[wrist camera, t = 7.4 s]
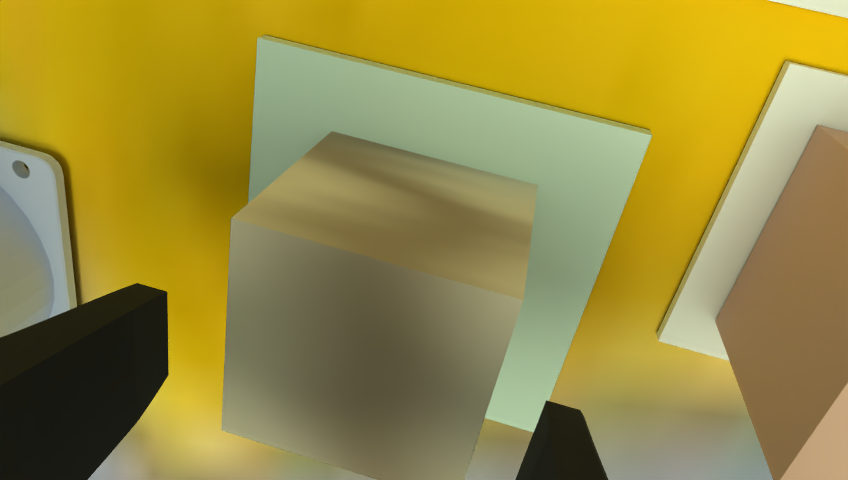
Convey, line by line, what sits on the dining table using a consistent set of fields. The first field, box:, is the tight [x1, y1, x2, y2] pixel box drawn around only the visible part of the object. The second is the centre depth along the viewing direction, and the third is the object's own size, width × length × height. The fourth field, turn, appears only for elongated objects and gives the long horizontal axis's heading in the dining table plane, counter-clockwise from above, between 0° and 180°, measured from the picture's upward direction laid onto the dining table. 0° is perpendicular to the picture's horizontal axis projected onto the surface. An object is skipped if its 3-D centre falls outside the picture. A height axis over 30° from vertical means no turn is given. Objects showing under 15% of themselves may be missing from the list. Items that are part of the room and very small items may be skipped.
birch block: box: [222, 131, 538, 480], centre depth 13 cm, size 5×5×5 cm
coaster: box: [248, 35, 652, 432], centre depth 16 cm, size 9×9×1 cm
